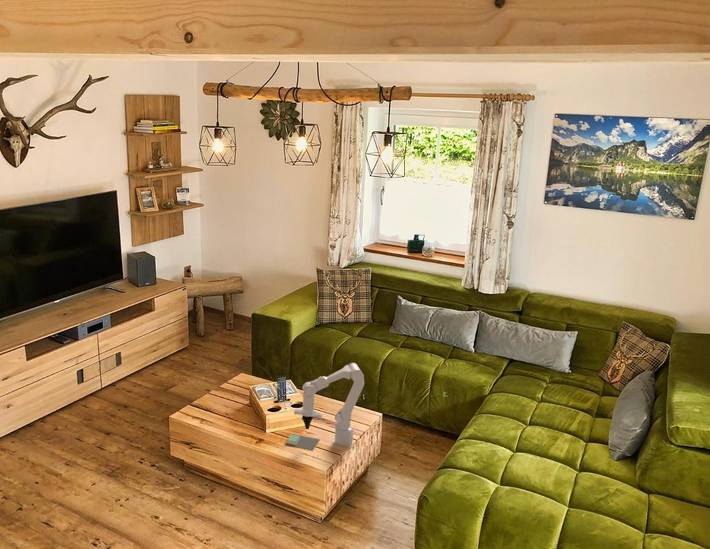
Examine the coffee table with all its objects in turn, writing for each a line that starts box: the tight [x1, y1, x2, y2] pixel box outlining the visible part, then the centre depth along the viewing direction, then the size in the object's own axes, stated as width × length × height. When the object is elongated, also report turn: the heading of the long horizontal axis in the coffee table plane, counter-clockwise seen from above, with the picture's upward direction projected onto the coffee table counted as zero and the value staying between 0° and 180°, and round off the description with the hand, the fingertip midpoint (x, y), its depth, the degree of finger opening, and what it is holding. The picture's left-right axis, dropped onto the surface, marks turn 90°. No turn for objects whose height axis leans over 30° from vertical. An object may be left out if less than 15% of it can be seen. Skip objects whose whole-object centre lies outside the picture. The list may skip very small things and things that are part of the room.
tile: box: [286, 433, 300, 445], centre depth 330 cm, size 2×6×5 cm
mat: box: [283, 433, 321, 452], centre depth 331 cm, size 16×12×1 cm
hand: (307, 428), depth 326 cm, fingers closed
